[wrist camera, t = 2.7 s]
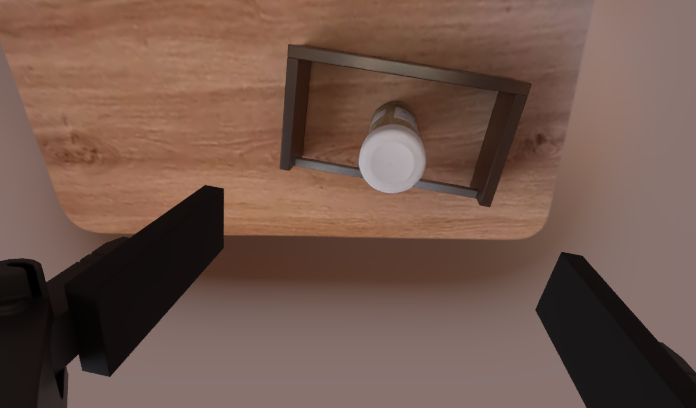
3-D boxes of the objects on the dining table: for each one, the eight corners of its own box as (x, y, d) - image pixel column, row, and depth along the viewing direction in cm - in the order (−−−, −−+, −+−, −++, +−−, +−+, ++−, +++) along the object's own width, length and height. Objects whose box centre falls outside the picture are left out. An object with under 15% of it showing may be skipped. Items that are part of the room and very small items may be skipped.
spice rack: (513, 78, 33) (532, 83, 29) (479, 188, 38) (490, 207, 33) (302, 44, 34) (288, 44, 30) (293, 155, 39) (279, 169, 34)
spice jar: (365, 110, 36) (348, 142, 24) (409, 94, 35) (415, 119, 23) (379, 152, 38) (371, 203, 25) (422, 138, 37) (435, 184, 24)
